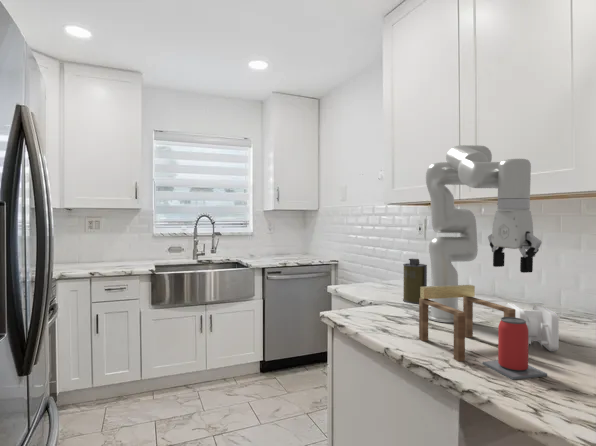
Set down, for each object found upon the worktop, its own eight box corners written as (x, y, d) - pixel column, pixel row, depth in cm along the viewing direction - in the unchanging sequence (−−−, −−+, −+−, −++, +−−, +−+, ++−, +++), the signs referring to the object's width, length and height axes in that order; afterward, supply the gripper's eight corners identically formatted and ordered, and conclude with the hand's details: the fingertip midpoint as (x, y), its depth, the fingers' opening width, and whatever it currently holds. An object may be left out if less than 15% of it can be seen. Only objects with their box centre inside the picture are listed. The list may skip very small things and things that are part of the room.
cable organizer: (504, 336, 122) (504, 301, 122) (540, 339, 119) (540, 302, 119) (519, 352, 107) (519, 311, 107) (561, 355, 105) (561, 313, 105)
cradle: (419, 339, 119) (419, 298, 119) (468, 335, 123) (468, 295, 123) (458, 361, 100) (458, 312, 100) (515, 356, 104) (515, 309, 104)
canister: (398, 301, 177) (398, 258, 177) (410, 298, 184) (410, 257, 184) (419, 304, 169) (419, 260, 169) (431, 301, 176) (431, 259, 176)
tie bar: (420, 297, 118) (420, 286, 118) (470, 295, 122) (470, 284, 122) (424, 299, 116) (424, 287, 116) (474, 296, 120) (474, 285, 120)
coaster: (482, 363, 98) (482, 361, 98) (514, 360, 100) (514, 358, 100) (512, 379, 88) (512, 377, 88) (547, 375, 90) (547, 373, 90)
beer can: (504, 371, 91) (504, 322, 91) (494, 361, 98) (494, 315, 98) (533, 372, 91) (533, 323, 91) (521, 362, 97) (521, 316, 97)
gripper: (479, 205, 108) (477, 265, 108) (527, 205, 91) (525, 275, 91) (501, 206, 109) (500, 264, 110) (553, 205, 92) (551, 274, 93)
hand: (511, 269), depth 101 cm, fingers open, 9 cm apart
